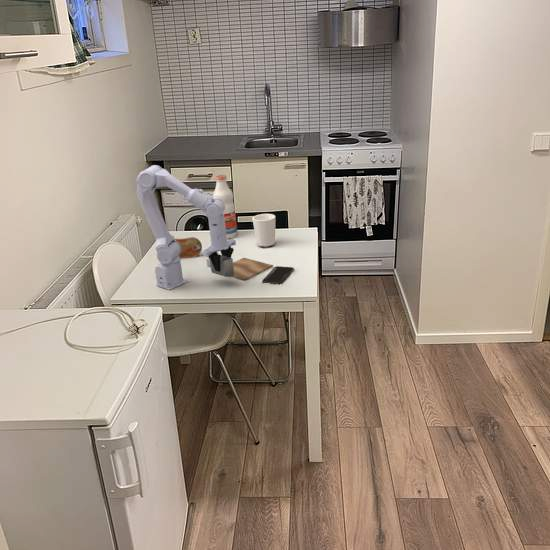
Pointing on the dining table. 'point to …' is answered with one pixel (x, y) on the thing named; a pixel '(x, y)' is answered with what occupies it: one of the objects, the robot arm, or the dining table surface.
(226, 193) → the fruit juice
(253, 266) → the board
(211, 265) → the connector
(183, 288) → the dining table surface
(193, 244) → the tin
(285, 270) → the phone
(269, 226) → the cup
